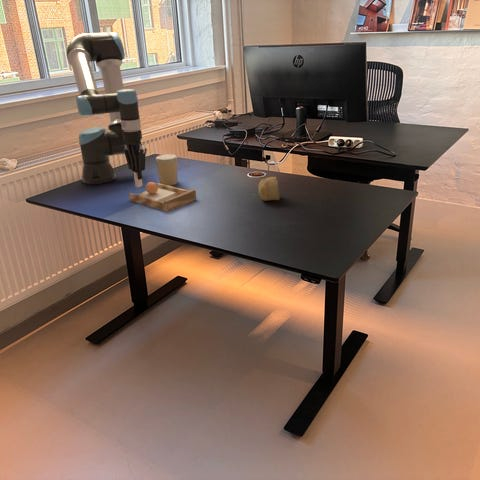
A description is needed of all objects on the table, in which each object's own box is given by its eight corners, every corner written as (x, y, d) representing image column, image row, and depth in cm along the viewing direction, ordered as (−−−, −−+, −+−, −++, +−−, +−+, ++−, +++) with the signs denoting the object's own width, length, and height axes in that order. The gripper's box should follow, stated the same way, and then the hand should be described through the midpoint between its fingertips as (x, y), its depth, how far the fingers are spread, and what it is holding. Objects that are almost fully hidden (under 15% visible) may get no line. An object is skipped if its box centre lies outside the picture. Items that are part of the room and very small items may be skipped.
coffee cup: (181, 179, 215) (179, 153, 210) (176, 186, 207) (174, 159, 202) (161, 179, 216) (158, 154, 211) (156, 186, 208) (153, 159, 203)
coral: (288, 186, 180) (264, 177, 178) (277, 208, 185) (254, 200, 183) (286, 177, 188) (263, 168, 187) (276, 198, 193) (254, 190, 191)
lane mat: (131, 199, 193) (131, 196, 192) (157, 190, 203) (156, 187, 202) (166, 210, 181) (166, 206, 181) (191, 199, 191) (191, 195, 190)
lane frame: (129, 200, 192) (128, 191, 190) (158, 189, 203) (157, 180, 202) (167, 211, 180) (166, 201, 178) (196, 199, 191) (195, 189, 189)
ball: (143, 194, 194) (142, 182, 192) (152, 191, 197) (151, 179, 195) (152, 196, 191) (150, 184, 189) (161, 193, 195) (159, 181, 192)
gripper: (113, 130, 189) (122, 186, 199) (135, 133, 182) (142, 191, 191) (128, 126, 194) (135, 181, 204) (149, 129, 187) (156, 186, 197)
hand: (139, 186), depth 198 cm, fingers closed
